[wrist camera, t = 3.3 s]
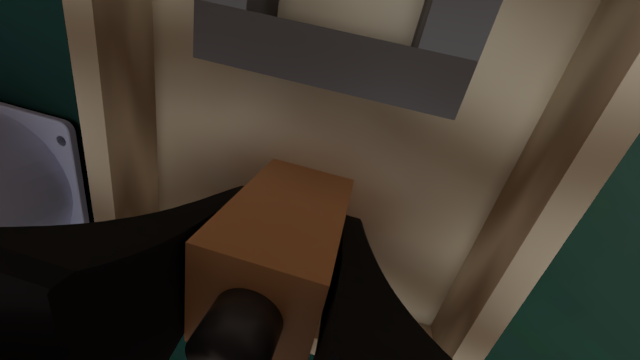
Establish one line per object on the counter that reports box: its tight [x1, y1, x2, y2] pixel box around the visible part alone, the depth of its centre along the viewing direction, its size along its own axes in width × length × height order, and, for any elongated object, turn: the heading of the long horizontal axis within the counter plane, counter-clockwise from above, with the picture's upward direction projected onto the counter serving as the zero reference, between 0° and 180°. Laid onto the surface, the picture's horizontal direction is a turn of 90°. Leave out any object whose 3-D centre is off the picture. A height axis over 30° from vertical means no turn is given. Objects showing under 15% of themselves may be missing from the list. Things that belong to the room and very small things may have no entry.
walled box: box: [62, 0, 640, 360], centre depth 10 cm, size 20×16×4 cm
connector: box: [184, 159, 354, 360], centre depth 9 cm, size 3×3×7 cm
